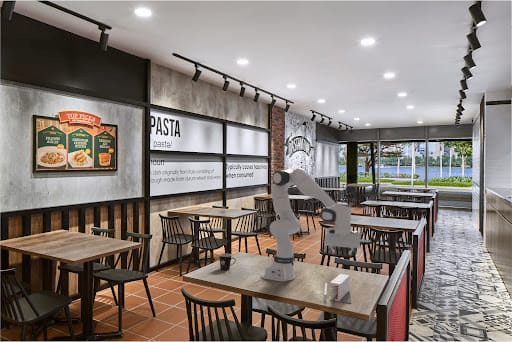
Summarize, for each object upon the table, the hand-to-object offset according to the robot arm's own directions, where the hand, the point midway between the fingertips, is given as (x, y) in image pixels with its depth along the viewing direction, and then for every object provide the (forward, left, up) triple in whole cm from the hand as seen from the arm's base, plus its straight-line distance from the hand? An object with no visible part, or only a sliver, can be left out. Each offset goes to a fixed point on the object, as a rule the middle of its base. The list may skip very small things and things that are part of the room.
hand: (341, 254), depth 204 cm
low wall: (-8, -4, -23) cm, 25 cm away
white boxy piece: (-1, -4, -23) cm, 23 cm away
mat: (+1, -4, -23) cm, 24 cm away
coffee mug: (-78, +26, -24) cm, 85 cm away
